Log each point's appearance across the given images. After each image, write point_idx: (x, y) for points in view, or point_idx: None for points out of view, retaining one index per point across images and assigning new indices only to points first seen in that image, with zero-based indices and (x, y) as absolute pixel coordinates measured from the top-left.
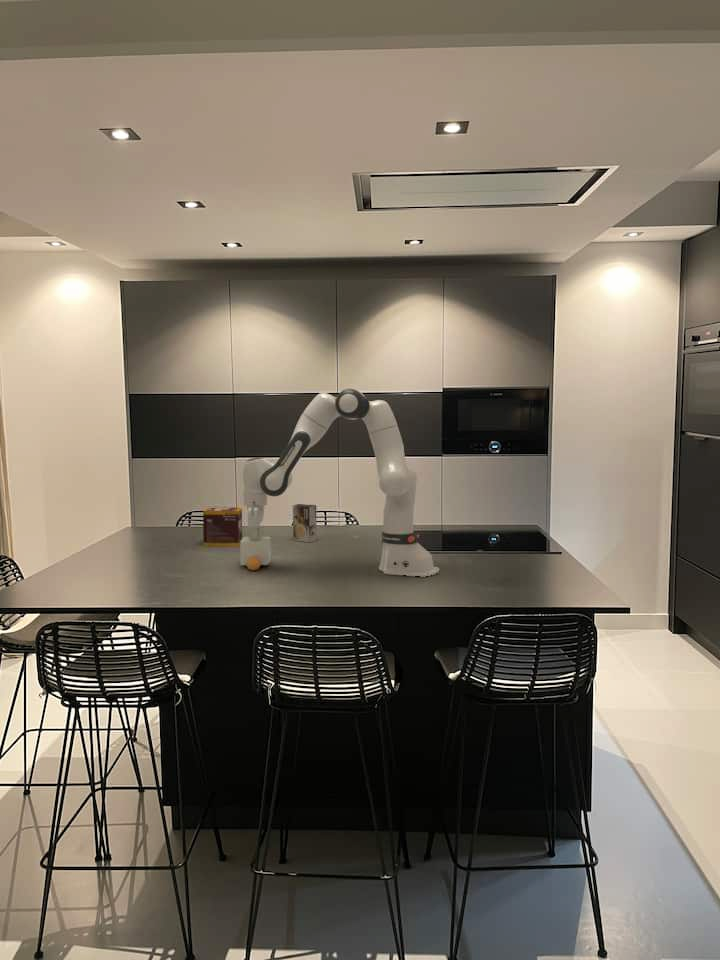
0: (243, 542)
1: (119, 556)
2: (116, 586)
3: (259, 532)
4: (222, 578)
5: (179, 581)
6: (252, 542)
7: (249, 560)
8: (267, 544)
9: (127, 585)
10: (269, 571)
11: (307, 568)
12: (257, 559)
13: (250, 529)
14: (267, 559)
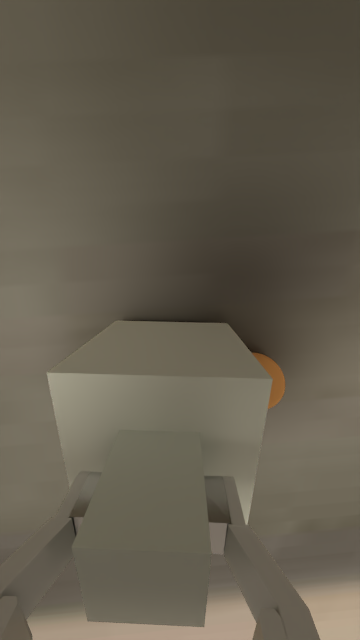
0: (247, 511)
1: (77, 632)
2: (355, 605)
3: (206, 513)
4: (340, 441)
5: (345, 523)
6: (254, 468)
7: (275, 404)
8: (263, 369)
9: (352, 593)
10: (269, 311)
11: (233, 136)
12: (275, 376)
13: (180, 621)
14: (233, 332)
